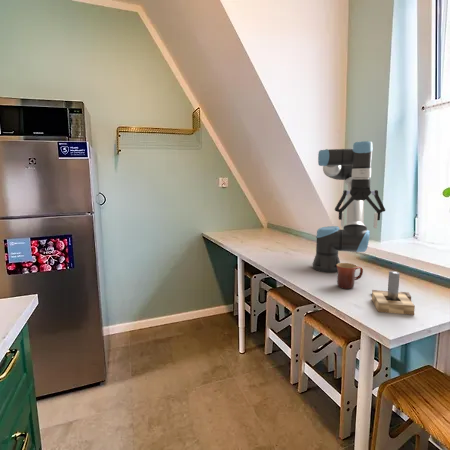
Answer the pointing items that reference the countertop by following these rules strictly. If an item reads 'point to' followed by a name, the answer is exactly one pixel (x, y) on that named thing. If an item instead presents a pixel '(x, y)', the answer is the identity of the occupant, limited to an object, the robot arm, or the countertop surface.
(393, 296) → the pin
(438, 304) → the countertop surface
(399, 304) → the socket block
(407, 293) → the bar
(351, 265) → the mug
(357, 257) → the countertop surface
